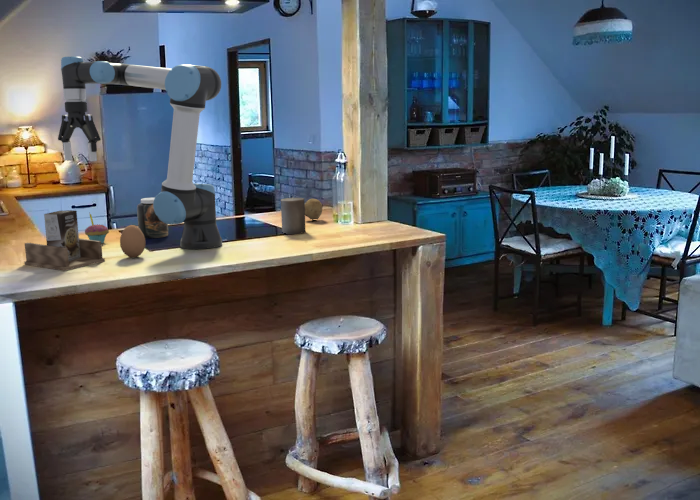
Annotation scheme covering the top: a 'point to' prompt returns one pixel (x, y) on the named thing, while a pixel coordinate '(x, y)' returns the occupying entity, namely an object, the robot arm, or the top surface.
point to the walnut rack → (63, 255)
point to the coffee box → (63, 231)
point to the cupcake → (96, 231)
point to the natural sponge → (313, 208)
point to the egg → (132, 241)
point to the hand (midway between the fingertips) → (80, 160)
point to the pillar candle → (293, 215)
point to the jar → (150, 220)
